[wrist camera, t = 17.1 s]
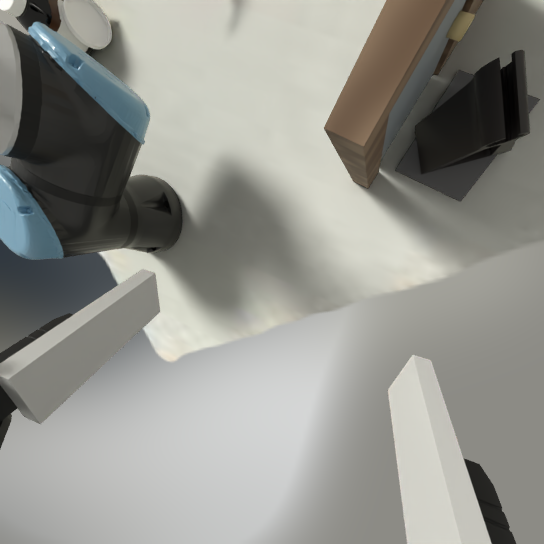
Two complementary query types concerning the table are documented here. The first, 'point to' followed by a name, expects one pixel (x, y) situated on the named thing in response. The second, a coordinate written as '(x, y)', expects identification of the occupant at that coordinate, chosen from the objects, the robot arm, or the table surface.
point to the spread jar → (65, 19)
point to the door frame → (384, 80)
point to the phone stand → (477, 118)
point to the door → (427, 67)
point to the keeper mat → (455, 177)
